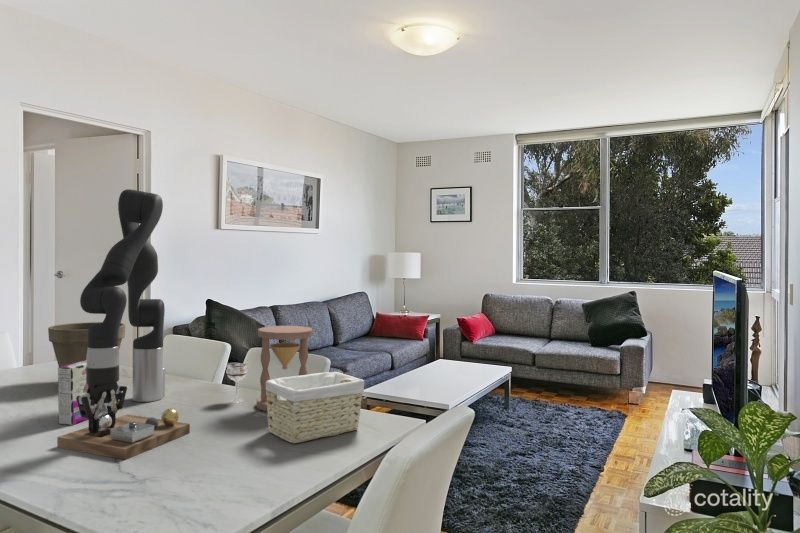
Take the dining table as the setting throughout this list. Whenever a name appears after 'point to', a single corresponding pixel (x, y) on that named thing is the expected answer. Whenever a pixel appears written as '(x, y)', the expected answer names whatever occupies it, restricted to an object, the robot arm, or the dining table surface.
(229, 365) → the wineglass
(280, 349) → the hourglass
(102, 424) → the steel ball
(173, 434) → the walnut board
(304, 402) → the storage basket
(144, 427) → the steel cover
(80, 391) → the candy bar box
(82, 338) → the plant pot
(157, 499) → the dining table surface
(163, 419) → the brass ball
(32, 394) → the dining table surface
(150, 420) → the black rubber ball
